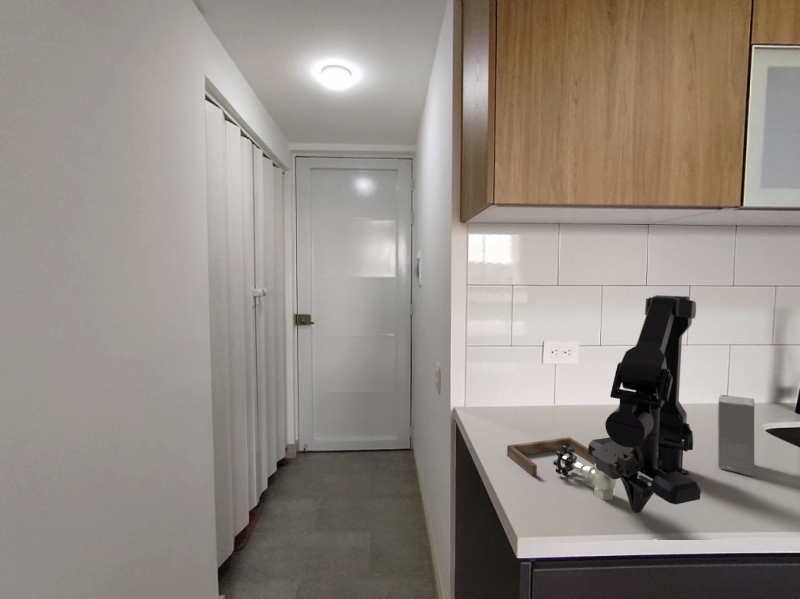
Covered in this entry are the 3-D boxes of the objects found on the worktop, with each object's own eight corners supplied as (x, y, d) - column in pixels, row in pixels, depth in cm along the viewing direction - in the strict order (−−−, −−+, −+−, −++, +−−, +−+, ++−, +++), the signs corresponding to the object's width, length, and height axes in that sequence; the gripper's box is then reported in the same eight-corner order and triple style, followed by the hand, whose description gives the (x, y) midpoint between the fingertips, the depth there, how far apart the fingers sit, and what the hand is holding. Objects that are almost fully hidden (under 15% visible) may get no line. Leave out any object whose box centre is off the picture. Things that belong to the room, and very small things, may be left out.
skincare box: (754, 478, 87) (759, 407, 86) (713, 467, 92) (717, 400, 91) (753, 464, 94) (758, 398, 92) (715, 454, 98) (719, 391, 97)
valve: (623, 496, 80) (572, 470, 91) (625, 464, 80) (573, 442, 90) (602, 505, 77) (552, 477, 88) (603, 472, 77) (553, 448, 87)
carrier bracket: (569, 446, 103) (569, 437, 102) (599, 465, 93) (600, 455, 92) (507, 455, 98) (507, 445, 98) (532, 476, 88) (532, 465, 87)
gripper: (566, 414, 78) (564, 491, 79) (650, 458, 60) (645, 556, 61) (612, 409, 81) (609, 483, 82) (705, 448, 63) (700, 542, 64)
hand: (636, 511), depth 72 cm, fingers closed
